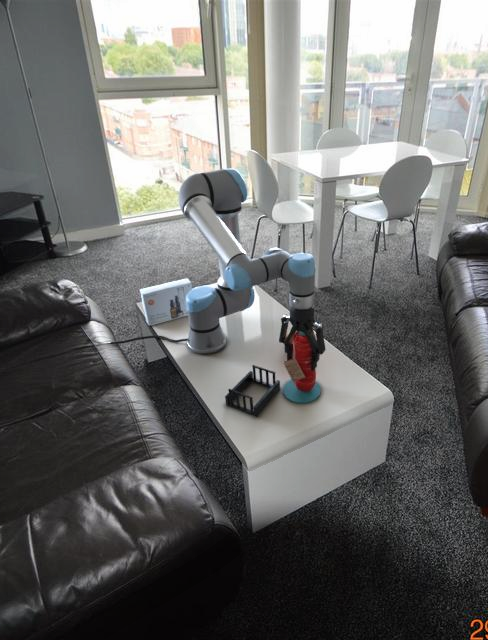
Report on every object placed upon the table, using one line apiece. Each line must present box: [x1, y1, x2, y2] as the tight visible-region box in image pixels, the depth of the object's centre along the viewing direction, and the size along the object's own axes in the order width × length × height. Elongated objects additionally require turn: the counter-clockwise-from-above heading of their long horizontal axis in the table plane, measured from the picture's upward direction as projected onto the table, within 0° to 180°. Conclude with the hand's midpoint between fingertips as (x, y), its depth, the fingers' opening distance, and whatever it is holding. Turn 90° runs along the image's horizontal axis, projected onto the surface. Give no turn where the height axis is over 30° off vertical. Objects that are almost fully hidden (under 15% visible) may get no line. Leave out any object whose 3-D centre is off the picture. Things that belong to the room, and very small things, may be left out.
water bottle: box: [282, 329, 317, 392], centre depth 144 cm, size 12×8×25 cm, turn 129°
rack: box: [224, 364, 281, 418], centre depth 147 cm, size 12×15×7 cm
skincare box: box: [139, 277, 193, 327], centre depth 190 cm, size 21×5×16 cm, turn 120°
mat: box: [282, 379, 322, 405], centre depth 151 cm, size 13×13×1 cm
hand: (301, 364), depth 145 cm, fingers closed on water bottle, 8 cm apart
